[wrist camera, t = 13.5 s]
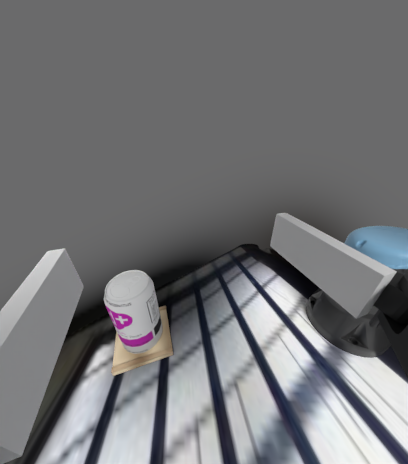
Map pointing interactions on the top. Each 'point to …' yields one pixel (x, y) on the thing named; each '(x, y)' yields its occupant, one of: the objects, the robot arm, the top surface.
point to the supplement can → (134, 310)
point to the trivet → (130, 361)
